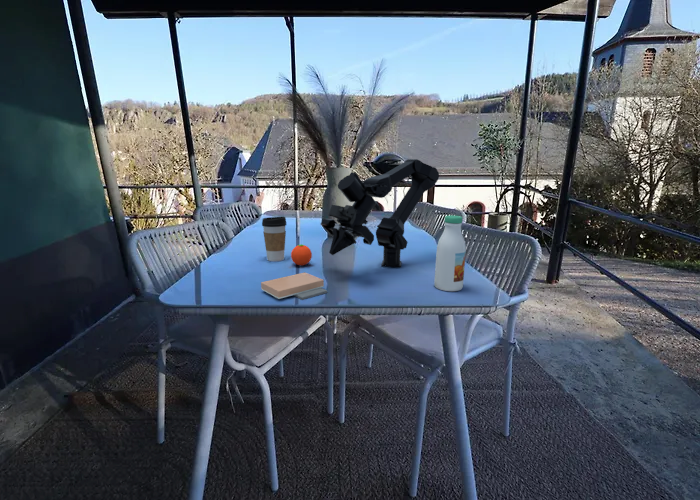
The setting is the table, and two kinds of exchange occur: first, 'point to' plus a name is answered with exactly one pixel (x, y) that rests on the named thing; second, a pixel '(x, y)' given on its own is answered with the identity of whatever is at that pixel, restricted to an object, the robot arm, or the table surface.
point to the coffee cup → (274, 237)
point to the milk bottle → (450, 256)
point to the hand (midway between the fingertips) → (331, 253)
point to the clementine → (301, 255)
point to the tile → (292, 285)
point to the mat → (310, 293)
